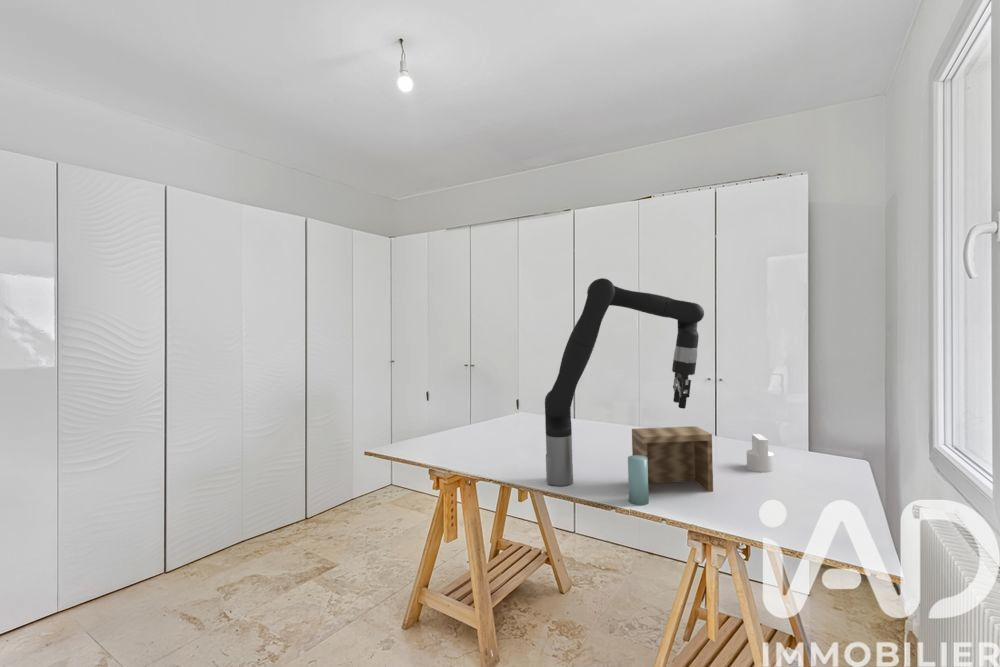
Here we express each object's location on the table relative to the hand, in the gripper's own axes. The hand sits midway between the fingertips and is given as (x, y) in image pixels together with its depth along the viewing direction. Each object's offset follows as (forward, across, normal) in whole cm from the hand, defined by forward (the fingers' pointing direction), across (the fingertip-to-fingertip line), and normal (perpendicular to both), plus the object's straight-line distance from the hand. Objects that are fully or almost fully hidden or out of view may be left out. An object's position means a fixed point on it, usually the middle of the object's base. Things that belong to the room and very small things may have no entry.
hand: (679, 405), depth 170 cm
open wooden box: (+27, +8, -1) cm, 28 cm away
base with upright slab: (+24, -14, +35) cm, 44 cm away
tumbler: (+28, +22, -14) cm, 38 cm away
